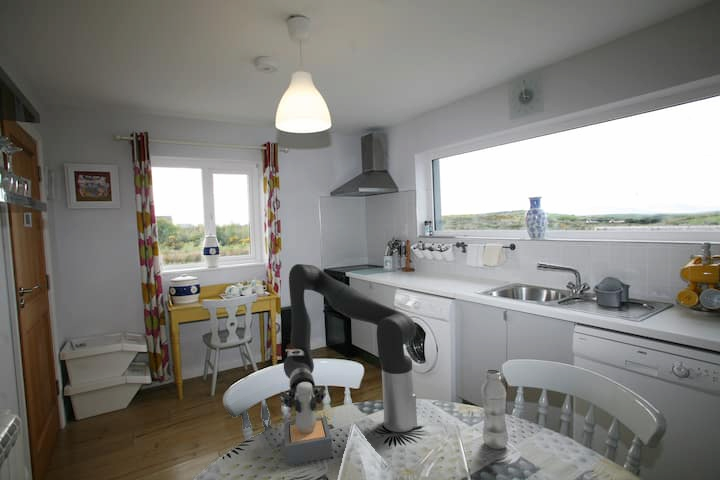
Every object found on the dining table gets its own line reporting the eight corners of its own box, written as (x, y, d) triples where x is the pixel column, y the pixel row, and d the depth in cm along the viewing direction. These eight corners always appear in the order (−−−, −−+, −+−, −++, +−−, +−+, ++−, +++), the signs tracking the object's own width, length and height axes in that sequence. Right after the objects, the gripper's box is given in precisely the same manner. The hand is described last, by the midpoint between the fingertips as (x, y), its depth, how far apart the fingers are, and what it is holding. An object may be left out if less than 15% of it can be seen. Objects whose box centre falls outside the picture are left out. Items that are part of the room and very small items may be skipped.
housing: (326, 433, 109) (325, 416, 109) (332, 456, 98) (331, 438, 98) (285, 440, 107) (284, 423, 107) (286, 465, 95) (285, 446, 95)
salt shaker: (312, 436, 99) (310, 388, 98) (292, 435, 100) (290, 387, 100) (319, 425, 104) (317, 379, 104) (300, 424, 106) (298, 379, 105)
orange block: (321, 431, 107) (321, 420, 107) (325, 449, 99) (325, 436, 99) (290, 437, 106) (289, 425, 105) (291, 455, 97) (291, 442, 97)
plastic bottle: (482, 450, 97) (479, 375, 97) (483, 436, 104) (480, 366, 103) (509, 454, 95) (506, 377, 95) (508, 440, 101) (505, 368, 101)
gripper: (278, 374, 114) (278, 398, 97) (323, 368, 117) (331, 390, 101) (279, 398, 114) (280, 426, 98) (324, 392, 118) (332, 418, 101)
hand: (306, 408), depth 99 cm, fingers closed on salt shaker, 3 cm apart
